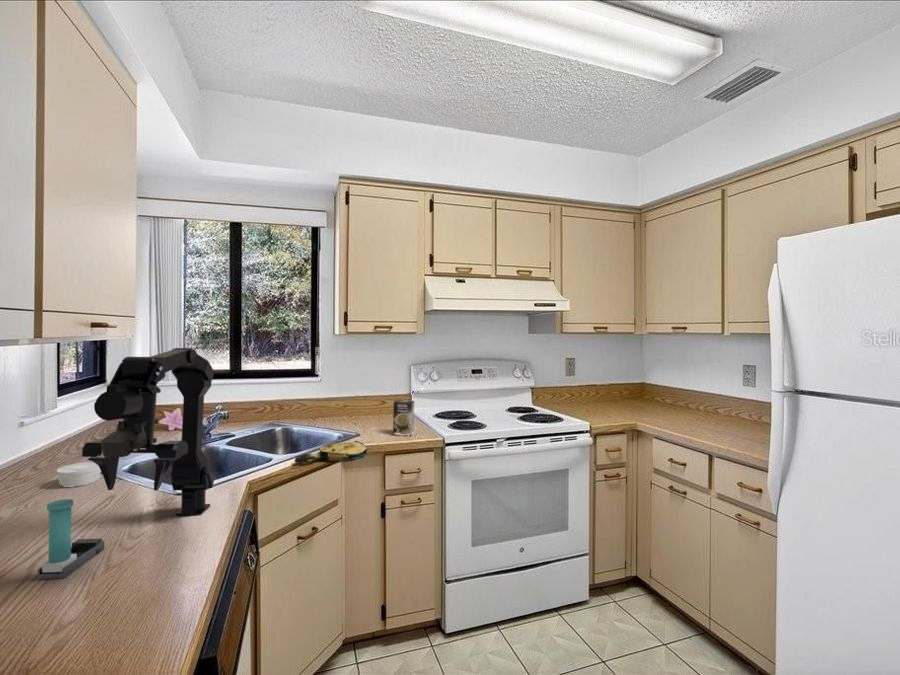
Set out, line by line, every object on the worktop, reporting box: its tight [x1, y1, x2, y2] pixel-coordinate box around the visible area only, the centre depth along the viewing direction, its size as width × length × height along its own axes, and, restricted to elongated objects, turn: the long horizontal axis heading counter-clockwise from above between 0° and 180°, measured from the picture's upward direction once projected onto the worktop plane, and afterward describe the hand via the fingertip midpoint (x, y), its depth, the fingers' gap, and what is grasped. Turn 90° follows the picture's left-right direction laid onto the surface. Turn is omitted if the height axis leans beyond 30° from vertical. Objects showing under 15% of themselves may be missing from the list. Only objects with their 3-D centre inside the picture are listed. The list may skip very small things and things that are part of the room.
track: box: [37, 538, 105, 580], centre depth 95 cm, size 12×5×3 cm, turn 6°
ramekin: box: [55, 461, 102, 487], centre depth 145 cm, size 11×11×5 cm
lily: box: [158, 407, 183, 431], centre depth 224 cm, size 12×12×10 cm
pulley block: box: [294, 440, 377, 463], centre depth 177 cm, size 14×6×30 cm
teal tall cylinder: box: [41, 498, 77, 573], centre depth 92 cm, size 4×4×13 cm
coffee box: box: [392, 399, 415, 434], centre depth 221 cm, size 9×6×16 cm
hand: (133, 490), depth 97 cm, fingers open, 9 cm apart
